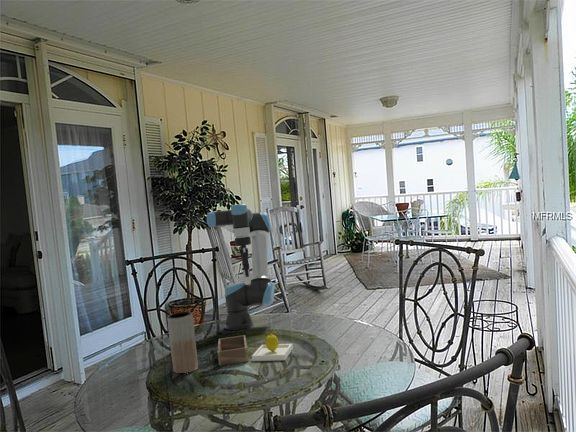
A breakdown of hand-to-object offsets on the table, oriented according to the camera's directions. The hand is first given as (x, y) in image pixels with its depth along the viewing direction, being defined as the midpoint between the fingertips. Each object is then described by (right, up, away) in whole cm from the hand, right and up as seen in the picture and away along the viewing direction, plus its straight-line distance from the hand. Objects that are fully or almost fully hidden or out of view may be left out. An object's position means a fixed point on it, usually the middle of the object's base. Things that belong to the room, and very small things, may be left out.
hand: (247, 281), depth 208 cm
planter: (-22, -32, -28) cm, 48 cm away
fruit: (+13, -27, -22) cm, 37 cm away
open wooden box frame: (-4, -30, -17) cm, 35 cm away
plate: (+13, -28, -22) cm, 38 cm away
